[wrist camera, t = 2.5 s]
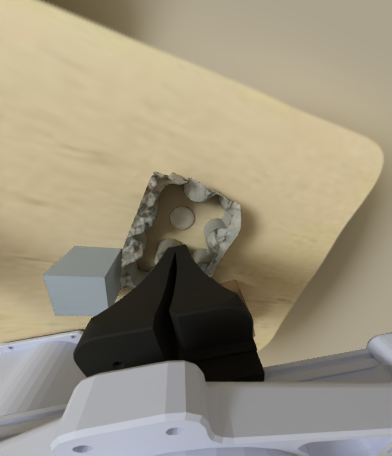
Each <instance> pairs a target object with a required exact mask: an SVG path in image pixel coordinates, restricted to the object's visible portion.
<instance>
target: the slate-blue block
mask: <svg viewBox="0 0 392 456" xmlns="http://www.w3.org/2000/svg"><path fill="white" fill-rule="evenodd" d="M121 265H122V251H121V249H117V248H100V247H83V246H74V247H73V248H72V249H71V250H70V251H69V252H68V253H67V254H66V255H65V256H63V257H62V258H61V259H60V260H59V261H58V262H57V263H56V264H55V265H54V266H52V267H51V268H50V269H49V270H48V271H47V272H46V273H45V274H44V275H43V278H44V281H45V284H46V287H47V291H48V294H49V297H50V300H51V304H52V307H53V310H54V313H55V315H57V316H96V315H98V314H99V313H101V312H102V311H104V310H106V309H107V308H109V307H110V306H112V305H113V304H114V303H115V301H116V298H117V296H118V293H119V291H120V289H121V286H120V276H121Z"/></svg>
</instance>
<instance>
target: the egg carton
mask: <svg viewBox="0 0 392 456" xmlns="http://www.w3.org/2000/svg"><path fill="white" fill-rule="evenodd" d="M153 173H154V175H153V176H152V177H151V179H150V181H149V183H148V186H147V188H146V191H145V193H144V196H143V199H142V201H141V204H140V206H139V209H138V212H137V214H136V216H135V219H134V221H133V224H132V226H131V229H130V232H129V234H128V237H127V239H126V242H125V244H124V247H123V252H122V265H121V276H120V286H121V287H124V288H125V287H127V286H131V287H136V286H137V285H139V284H140V283H141V282H142V281H143V280H144V279H145V278H146V277H147V276H148V274H149V273H150V272H151V271H152V270H153V268H154V267H153V268H151V269H150V270H149V271H148V272H144V271H140V270H138V264H137V262H136V261H137V260H138V259H140V258H141V257H143V254H144V250H145V247H146V244H147V235H146V233H145V230H146V229H147V228H149V227H151V226H152V225H153V223H154V220H156V217H157V216H156V215H157V212H158V208H159V206H158V201H157V198H158V196H159V194H160V193H161V191H162V190H163V189H164V188H165V187H166V186H167V185H168V184H178V185H180V184H183V188H184V192H185V194H186V196H187V197H188V198H189V199H190V200H191V201H194V202H205V201H207V200H209V199H210V198H211V197H212V196H214V195H216V194H217V195H219V201H220V204H221V205H222V207H223V208H224V209H225V211H226V212H225V214H224V216H223V217H222V219H218V218H216V219H212V220H210V221H209V222H208V223H207V224H206V225H205V227H204V235H205V238H206V242H207V246H208V247H207V249H198V250H196V251H194V252H193V253H192V255H191V257H192V258H193V260H194V261H195V262H196V264H197V265H198V266H199V267H200V268H201V269H202V270H203V271H204V272H205V273H206V274H207V275H208V276H209V277H211V276H212V275H213V273H214V271H215V269H216V267H217V265H218V263H219V262H220V261H221V259H222V258H223V256H224V253H225V251H226V250H227V249H228V248H229V246H230V245H231V244H232V242H233V241H234V240H235V238H236V237H237V236H238V234H239V231H240V229H241V207H240V204H238V203H237V202H235V201H231V200H227V198H226V197H224V196H223V195H222V194H221V193H220V192H218V191H216V190H213V189H211V188H209V190H207V189H206V187H205V185H203V184H202V183H200V182H198V181H196V180H194V179H192V178H189V180H188V181H185V180H183V177H182V176H180V175H177V174H175V173H171V174H170V176H168V175H164V174H161V173H158V172H153ZM169 219H170V223H171V224H172V226H173V227H174V228H176V229H179V230H185V229H188V228H190V226H191V225H192V224H193V223H194V220H195V216H194V213H193V211H192V210H191V209H190V208H188V207H185V206H182V207H181V206H180V207H176V208H175V209H173V210H172V212H171V213H170V218H169ZM174 246H180V243H179V242H178V241H177V240H175V239H171V238H167V239H164V240H163V241H161V242H160V243H159V245H158V249H157V253H156V256H155V264H157V263H158V262H159V260H160V259H161V257H162V256H163V254H164V253H165V251H166V250H167V248H168V247H174Z"/></svg>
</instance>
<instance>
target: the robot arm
mask: <svg viewBox="0 0 392 456" xmlns="http://www.w3.org/2000/svg"><path fill="white" fill-rule="evenodd" d="M0 353H1V354H0V456H392V332H391V333H385V334H380V335H377V336H374V337H372V338H371V339H370V340H369V341H368V344H367V348H366V349H361V350H355V351H350V352H345V353H339V354H334V355H328V356H323V357H317V358H312V359H307V360H301V361H296V362H291V363H285V364H280V365H275V366H269V367H262V364H261V362H260V359H259V357H258V354H257V347H256V344H255V342H254V339H253V319H252V316H251V314H250V312H249V310H248V309H247V307H246V305H245V304H244V302H243V301H242V299H241V298H240V297H239V295H238V294H237V293H235V292H233V291H231V290H229V289H227V288H225V287H223V286H222V285H220V284H218V283H217V282H216V281H214V280H213V279H212V278H210V277H209V276H208V275H207V274H206V273H205V272H204V271H203V270H202V269H201V268H200V267H199V266H198V265H197V264H196V262H195V261H194V260H193V258H192V257H191V255H190V254H189V252H188V249H187V246H186V245H180V246H174V247H168V248H167V250H166V251H165V253H164V254H163V256H162V257H161V259H160V260H159V262H158V263H157V264H156V266H155V267H154V268H153V270H152V271H151V272H150V273H149V274H148V276H147V277H146V278H145V279H144V280H143V281H142V282H141V283H140V284H139V285H137V286H136V287H135V288H134V289H133V290H132V291H131V292H129V293H128V294H127V295H126V296H124V297H123V298H122V299H120V300H119V301H118V302H116V303H115V304H113V305H112V306H110V307H109V308H107V309H106V310H104V311H102V312H101V313H99V314H98V315H96V316H94V317H93V318H91V320H90V321H89V323H88V325H87V327H86V328H85V330H84V332H83V331H81V330H78V331H72V332H66V333H60V334H54V335H49V336H43V337H37V338H31V339H26V340H20V341H14V342H8V343H3V344H0Z"/></svg>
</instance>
